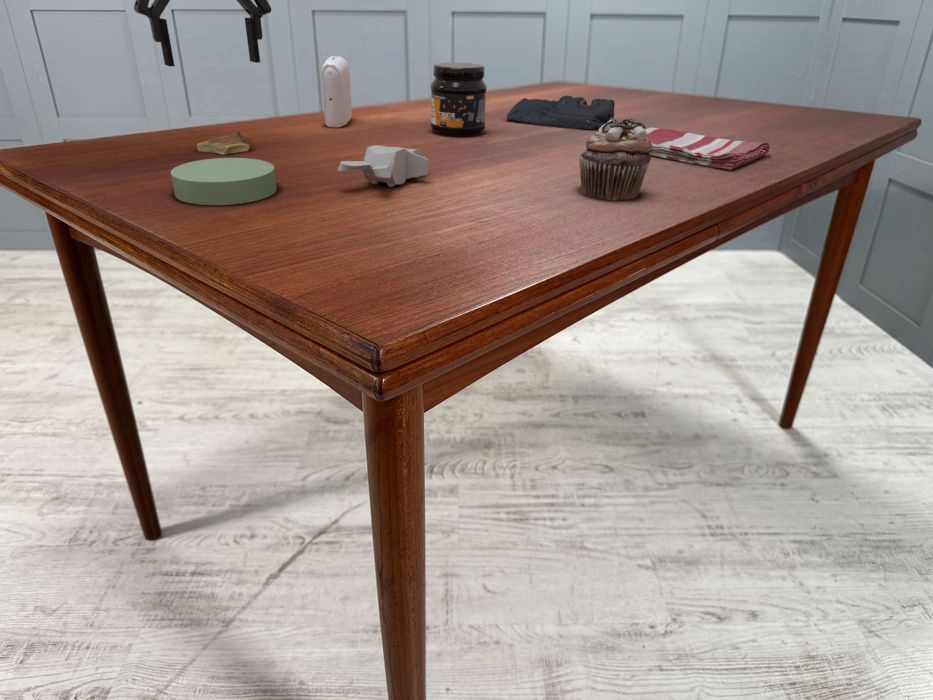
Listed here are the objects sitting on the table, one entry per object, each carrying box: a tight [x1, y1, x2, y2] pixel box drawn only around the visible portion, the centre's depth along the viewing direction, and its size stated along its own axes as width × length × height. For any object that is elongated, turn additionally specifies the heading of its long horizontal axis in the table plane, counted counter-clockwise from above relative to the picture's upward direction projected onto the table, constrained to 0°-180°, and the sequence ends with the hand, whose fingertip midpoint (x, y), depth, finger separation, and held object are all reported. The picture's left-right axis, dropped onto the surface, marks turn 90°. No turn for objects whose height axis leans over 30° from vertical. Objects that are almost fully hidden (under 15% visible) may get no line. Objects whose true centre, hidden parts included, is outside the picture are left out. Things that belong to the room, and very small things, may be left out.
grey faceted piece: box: [337, 144, 430, 188], centre depth 94 cm, size 10×5×15 cm
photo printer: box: [320, 55, 353, 128], centre depth 131 cm, size 10×4×12 cm, turn 178°
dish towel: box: [645, 126, 771, 171], centre depth 118 cm, size 17×23×3 cm
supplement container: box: [430, 62, 488, 137], centre depth 126 cm, size 10×10×12 cm
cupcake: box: [578, 117, 652, 201], centre depth 91 cm, size 10×10×10 cm
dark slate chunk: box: [506, 95, 616, 131], centre depth 142 cm, size 15×22×5 cm
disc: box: [170, 157, 278, 206], centre depth 89 cm, size 13×13×3 cm
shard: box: [196, 131, 251, 155], centre depth 113 cm, size 11×8×2 cm
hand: (213, 63), depth 107 cm, fingers open, 13 cm apart
